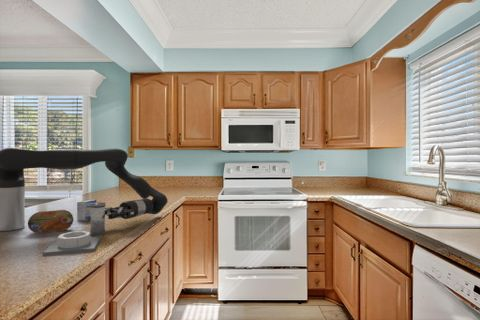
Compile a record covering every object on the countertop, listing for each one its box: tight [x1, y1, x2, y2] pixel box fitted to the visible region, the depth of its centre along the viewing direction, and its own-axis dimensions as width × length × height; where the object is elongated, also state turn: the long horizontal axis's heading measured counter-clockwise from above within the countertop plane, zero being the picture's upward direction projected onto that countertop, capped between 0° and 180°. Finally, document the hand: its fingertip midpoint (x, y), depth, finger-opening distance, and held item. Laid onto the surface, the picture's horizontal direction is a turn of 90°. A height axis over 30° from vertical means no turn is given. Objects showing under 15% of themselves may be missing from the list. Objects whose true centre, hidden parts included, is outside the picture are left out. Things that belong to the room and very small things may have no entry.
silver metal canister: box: [89, 201, 107, 237], centre depth 109 cm, size 5×5×12 cm
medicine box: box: [76, 199, 98, 221], centre depth 135 cm, size 8×4×9 cm, turn 168°
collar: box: [42, 230, 102, 257], centre depth 94 cm, size 14×14×4 cm
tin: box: [27, 209, 74, 234], centre depth 112 cm, size 15×3×8 cm, turn 118°
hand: (101, 215), depth 110 cm, fingers open, 8 cm apart
